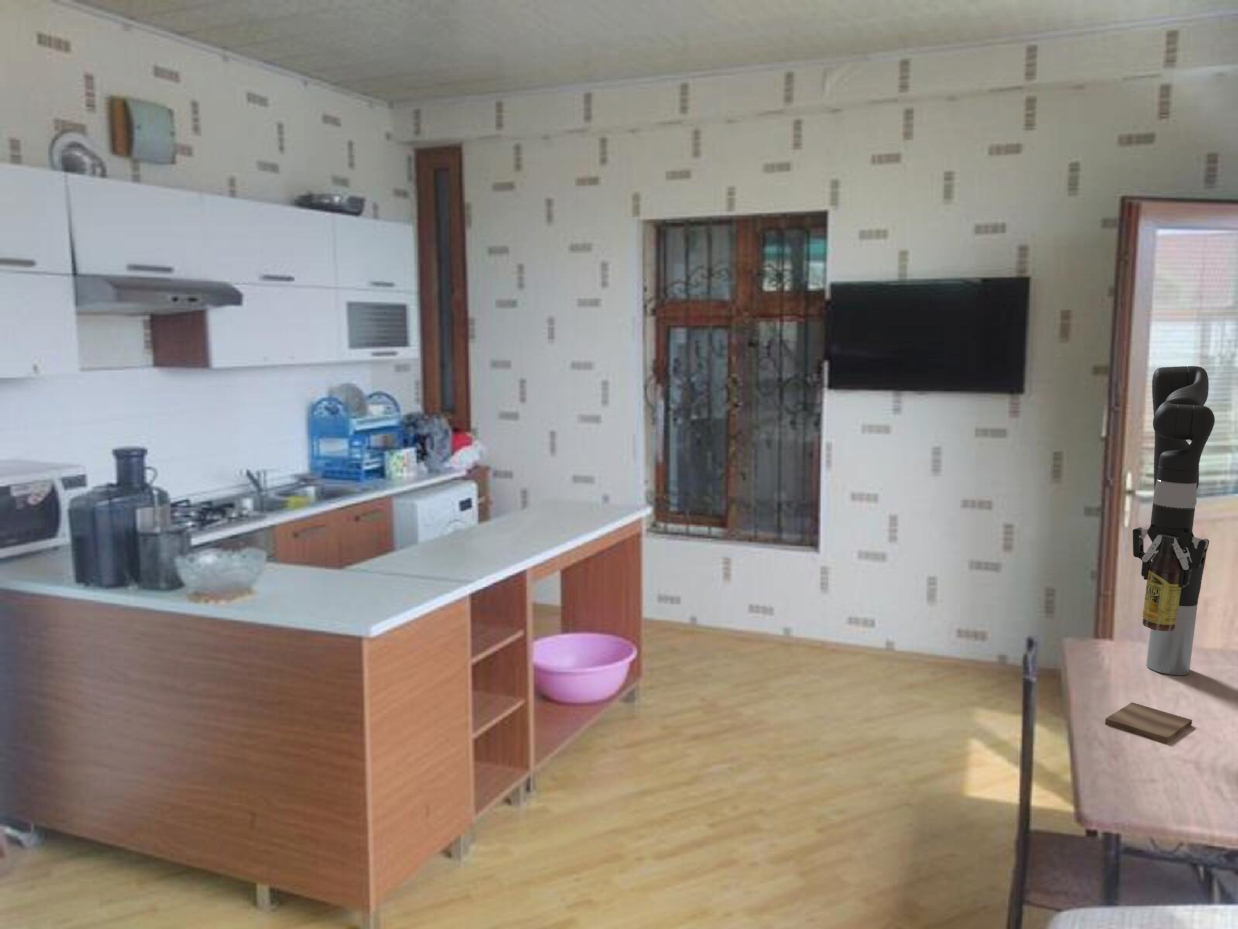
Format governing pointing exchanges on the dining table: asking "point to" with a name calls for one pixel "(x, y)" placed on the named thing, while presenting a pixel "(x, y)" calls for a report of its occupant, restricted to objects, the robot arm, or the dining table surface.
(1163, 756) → the dining table surface
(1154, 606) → the sauce bottle
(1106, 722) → the walnut board
